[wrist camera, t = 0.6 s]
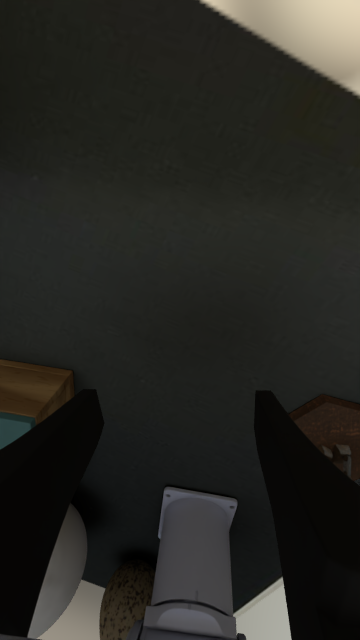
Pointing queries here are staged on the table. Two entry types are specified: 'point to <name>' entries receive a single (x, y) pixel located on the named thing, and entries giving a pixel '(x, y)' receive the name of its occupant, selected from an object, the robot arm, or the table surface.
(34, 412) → the box
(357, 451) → the robot figurine
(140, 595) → the decorative egg
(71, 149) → the table surface
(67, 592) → the decorative ball
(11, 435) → the lid
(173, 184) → the table surface
